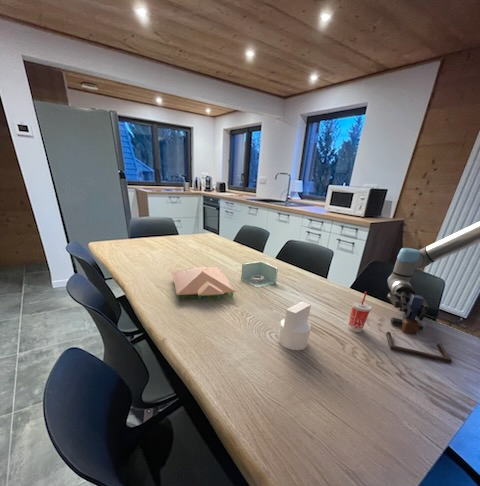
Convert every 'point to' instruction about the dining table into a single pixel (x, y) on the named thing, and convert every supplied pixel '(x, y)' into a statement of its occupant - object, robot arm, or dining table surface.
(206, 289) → the house
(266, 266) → the right angle wall
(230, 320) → the dining table surface
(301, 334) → the base with upright slab
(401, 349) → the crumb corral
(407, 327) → the orange brown cube
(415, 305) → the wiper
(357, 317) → the beverage cup
